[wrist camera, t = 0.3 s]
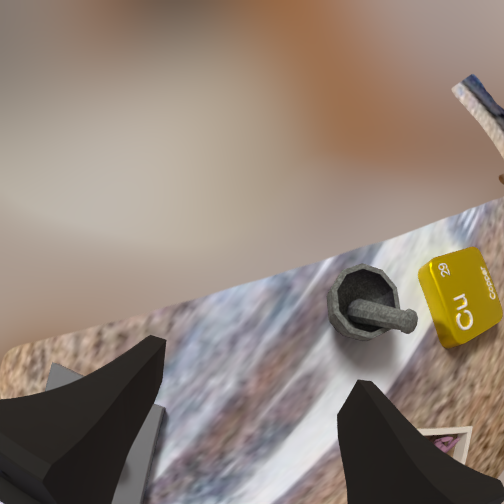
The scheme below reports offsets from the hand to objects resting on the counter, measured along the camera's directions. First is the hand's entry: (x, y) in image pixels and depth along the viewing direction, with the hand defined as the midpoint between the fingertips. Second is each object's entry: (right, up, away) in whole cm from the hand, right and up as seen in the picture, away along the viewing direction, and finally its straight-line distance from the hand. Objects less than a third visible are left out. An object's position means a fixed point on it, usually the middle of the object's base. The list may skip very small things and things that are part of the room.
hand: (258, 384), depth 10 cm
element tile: (+36, -4, +34) cm, 50 cm away
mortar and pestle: (+14, -5, +32) cm, 35 cm away
